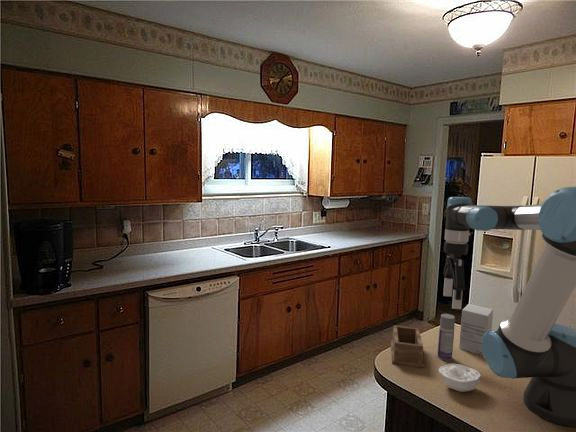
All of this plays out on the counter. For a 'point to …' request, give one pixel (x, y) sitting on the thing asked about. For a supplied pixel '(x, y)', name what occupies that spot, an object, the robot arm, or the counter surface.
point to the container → (446, 337)
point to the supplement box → (474, 327)
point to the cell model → (460, 377)
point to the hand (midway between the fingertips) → (451, 302)
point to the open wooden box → (407, 346)
